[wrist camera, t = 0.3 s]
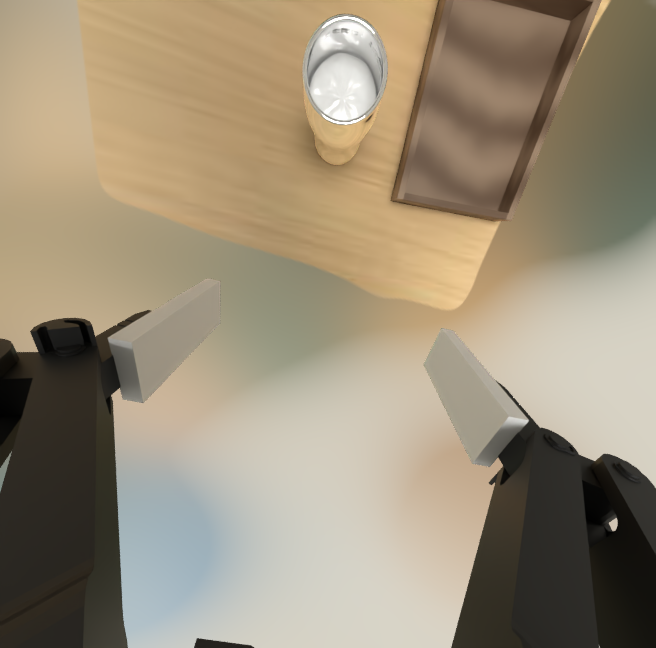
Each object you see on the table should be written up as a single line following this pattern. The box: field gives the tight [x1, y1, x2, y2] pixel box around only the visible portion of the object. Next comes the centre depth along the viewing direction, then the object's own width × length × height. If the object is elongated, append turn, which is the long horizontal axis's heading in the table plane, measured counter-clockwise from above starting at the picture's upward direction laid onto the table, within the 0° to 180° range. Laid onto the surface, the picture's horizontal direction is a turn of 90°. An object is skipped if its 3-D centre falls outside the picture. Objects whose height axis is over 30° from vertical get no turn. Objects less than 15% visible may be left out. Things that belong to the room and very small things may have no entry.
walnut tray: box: [391, 0, 601, 221], centre depth 30 cm, size 22×16×4 cm
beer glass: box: [302, 14, 388, 165], centre depth 26 cm, size 7×7×15 cm
